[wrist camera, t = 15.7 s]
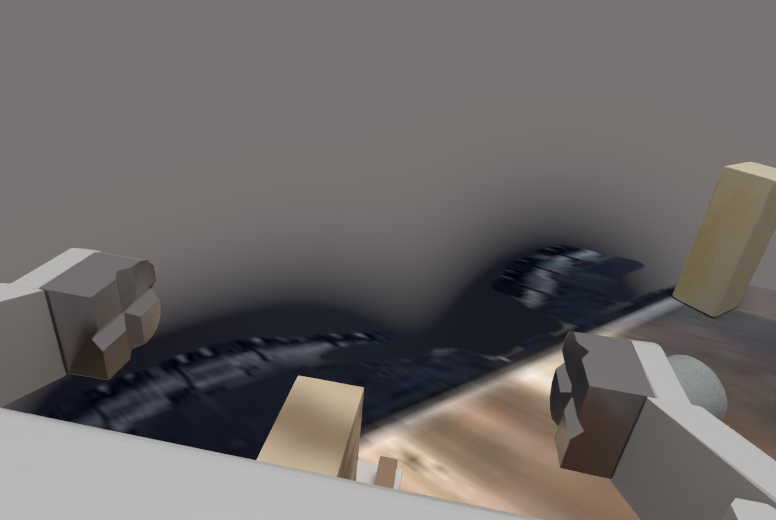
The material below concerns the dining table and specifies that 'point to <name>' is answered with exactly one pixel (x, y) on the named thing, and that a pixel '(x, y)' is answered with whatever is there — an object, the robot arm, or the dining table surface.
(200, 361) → the dining table surface
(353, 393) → the wooden block
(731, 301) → the toy refrigerator
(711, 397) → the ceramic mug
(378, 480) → the track
